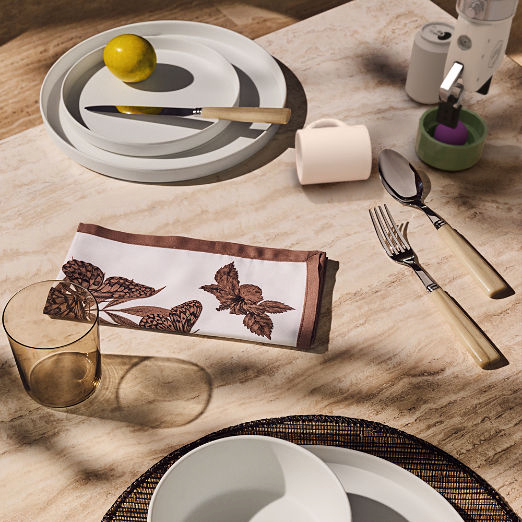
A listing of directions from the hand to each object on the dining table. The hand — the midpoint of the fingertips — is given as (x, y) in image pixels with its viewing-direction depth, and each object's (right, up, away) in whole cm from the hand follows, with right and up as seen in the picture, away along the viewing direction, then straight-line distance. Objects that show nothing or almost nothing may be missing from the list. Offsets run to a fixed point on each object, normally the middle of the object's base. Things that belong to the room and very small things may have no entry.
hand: (462, 107), depth 100 cm
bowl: (-1, -6, +6) cm, 8 cm away
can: (-1, +6, +16) cm, 17 cm away
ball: (-1, -3, +4) cm, 5 cm away
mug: (-19, -8, +4) cm, 21 cm away
